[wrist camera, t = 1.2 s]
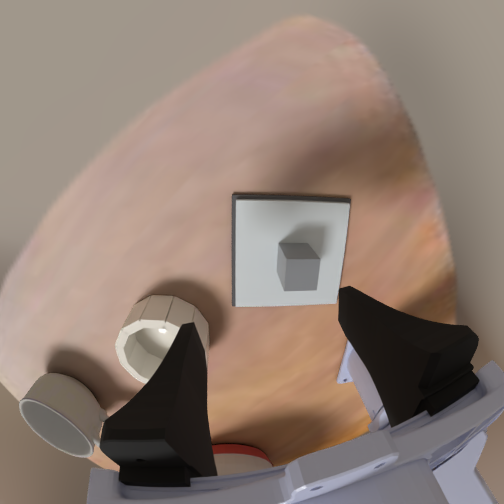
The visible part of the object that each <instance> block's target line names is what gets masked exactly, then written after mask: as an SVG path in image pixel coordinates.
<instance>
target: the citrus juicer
mask: <svg viewBox="0 0 504 504" xmlns="http://www.w3.org/2000/svg"><path fill="white" fill-rule="evenodd" d="M212 449H213V454H214V459H215V464H216V469H217V473H218V476H221V475H229V474H237V473H244V472H250V471H256V470H261V469H267V468H272V467H273V465H272V463H271V462H270V460H269V459H268V457H267V456H266V455H265V454H264V452H262V451H261V450H259V449H257V448H254V447H250V446H245V445H237V444H220V445H212Z"/></svg>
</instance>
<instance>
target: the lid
mask: <svg viewBox="0 0 504 504" xmlns="http://www.w3.org/2000/svg"><path fill="white" fill-rule="evenodd" d="M349 209H350V204H349V203H345V202H327V201H303V200H268V199H236V256H235V299H236V307H259V306H294V305H316V304H335V303H336V302H337V296H338V290H339V284H340V278H341V272H342V265H343V258H344V251H345V244H346V236H347V227H348V219H349Z"/></svg>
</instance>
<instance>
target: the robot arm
mask: <svg viewBox="0 0 504 504" xmlns="http://www.w3.org/2000/svg"><path fill="white" fill-rule="evenodd" d="M338 320H339V323H340V325H341V327H342V329H343V331H344V333H345V336H346V337H347V339H348V341H347V345H346V348H345V352H344V356H343V359H342V363H341V366H340V370H339V373H338V377H337V382H338V383H347V382H354V384H355V386H356V388H357V390H358V392H359V394H360V397H361V399H362V401H363V403H364V405H365V407H366V409H367V411H368V414H369V416H370V418H371V420H372V422H371V423H370V424H369V425H368V428H369V430H370V433H368V434H366V435H363V436H361V437H358V438H355V439H353V440H350V441H347V442H344V443H342V444H339V445H336V446H333V447H330V448H327V449H323V450H320V451H317V452H313V453H310V454H307V455H305V456H302V457H299V458H297V459H295V460H294V461H292V462H290V463H289V464H285V465H281V466H276V467H272V468H267V469H261V470H256V471H250V472H244V473H237V474H229V475H221V476H218V473H217V469H216V464H215V459H214V454H213V449H212V443H211V436H210V430H209V422H208V414H207V361H206V353H205V350H204V347H203V344H202V342H201V339H200V336H199V334H198V331H197V328H196V326H195V323H194V322H191V323H186V324H182V325H181V327H180V329H179V331H178V333H177V335H176V337H175V339H174V341H173V343H172V345H171V347H170V348H169V350H168V352H167V354H166V356H165V357H164V359H163V361H162V362H161V364H160V365H159V367H158V369H157V370H156V371H155V373H154V374H153V376H152V377H151V378H150V380H149V381H148V382H147V383H146V385H145V386H144V387H143V388H142V389H141V390H140V391H139V392H138V393H137V394H136V395H135V396H134V397H133V398H132V399H131V400H130V401H129V402H128V403H127V404H126V405H125V406H123V407H122V408H121V409H120V410H118V411H117V412H116V413H114V414H113V415H112V416H110V417H109V418H107V419H106V420H105V421H104V425H103V428H102V434H101V440H100V445H99V447H100V449H101V451H102V452H103V453H104V454H105V455H106V456H108V457H109V458H110V459H111V460H113V461H114V462H115V463H117V464H118V465H119V466H120V472H118V471H115V470H109V469H100V468H92V469H91V473H90V481H89V489H88V496H87V504H499V503H498V502H497V500H496V498H495V497H494V495H493V494H492V492H491V490H490V489H489V487H488V485H487V484H486V482H485V481H484V479H483V477H482V476H481V474H480V473H479V471H478V470H477V468H476V464H477V462H478V459H479V457H480V455H481V453H482V450H483V448H484V446H485V443H486V440H487V437H488V435H487V434H486V432H487V427H488V426H489V425H490V424H492V423H493V422H494V421H495V420H496V419H497V418H498V417H499V416H500V414H501V413H502V412H503V411H504V372H503V371H502V370H501V369H500V367H499V366H498V365H497V364H496V363H495V362H494V361H493V360H492V361H490V362H489V363H487V364H486V365H485V366H483V367H482V368H481V369H480V370H478V372H477V373H476V374H474V373H473V371H472V370H473V368H474V367H473V365H472V364H471V363H470V361H471V359H472V357H473V355H474V353H475V351H476V349H477V346H478V341H479V338H478V336H477V335H476V334H475V333H474V332H473V331H472V330H471V329H470V328H469V327H468V326H464V325H450V324H443V323H437V322H432V321H428V320H424V319H420V318H417V317H414V316H411V315H408V314H405V313H403V312H400V311H398V310H396V309H393V308H391V307H389V306H387V305H385V304H383V303H381V302H379V301H377V300H375V299H373V298H371V297H370V296H368V295H366V294H364V293H362V292H361V291H359V290H357V289H355V288H353V287H351V286H347V287H343V288H340V289H339V315H338Z"/></svg>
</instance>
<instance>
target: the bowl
mask: <svg viewBox="0 0 504 504" xmlns="http://www.w3.org/2000/svg"><path fill="white" fill-rule="evenodd" d="M191 322H194V323H195V326H196V328H197V331H198V334H199V336H200V339H201V342H202V344H203V347H204V350H205V353H206V361H207V369H208V356H209V344H210V337H209V324H208V322H207V321H206V320H205V318H204V317H203V316H202V314H201V313H200V312H199V310H198V309H197V308H196V307H195V306H194V305H192V304H190V303H188V302H186V301H184V300H182V299H180V298H178V297H176V296H175V297H174V296H164V295H152V296H149V297H147V298H145V299H144V300H142V301H140V302H138V303H136V304H135V305H134V306H133V308H132V310H131V312H130V314H129V315H128V317H127V319H126V321H125V323H124V325H123V327H122V328H121V331H120V333H119V336H118V338H117V341H116V344H115V348H116V352H117V355H118V358H119V361H120V363H121V365H122V366H123V367H124V368H125V369H126V370H127V371H128V372H129V373H130V374H131V375H132V376H133V377H134V378H135V379H136V378H137V379H136V380H138V381H141V382H143V383H145V384H146V383H147V382H148V381H149V380H150V378H151V377H152V376H153V374H154V373H155V371H156V370H157V369H158V367H159V365H160V364H161V362H162V361H163V359H164V357H165V356H166V354H167V352H168V350H169V348H170V347H171V345H172V343H173V341H174V339H175V337H176V335H177V333H178V331H179V329H180V327H181V325H182V324H186V323H191Z"/></svg>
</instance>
